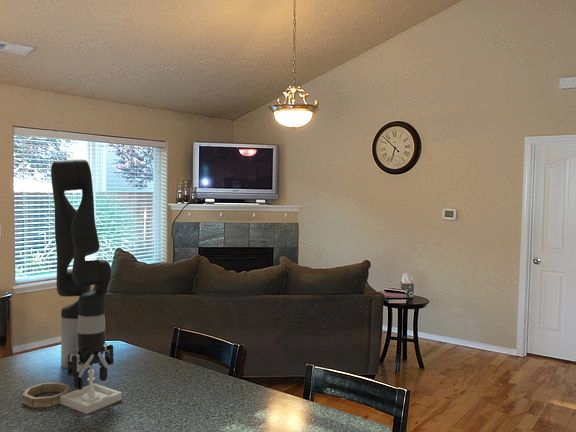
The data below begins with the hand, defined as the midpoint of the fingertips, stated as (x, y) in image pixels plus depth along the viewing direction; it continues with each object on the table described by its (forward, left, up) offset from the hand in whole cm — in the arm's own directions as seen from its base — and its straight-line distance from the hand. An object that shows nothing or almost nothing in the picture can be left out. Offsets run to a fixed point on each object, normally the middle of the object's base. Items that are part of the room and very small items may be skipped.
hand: (91, 384), depth 155 cm
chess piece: (0, 0, -4) cm, 4 cm away
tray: (0, 0, -5) cm, 5 cm away
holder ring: (+6, -12, -5) cm, 14 cm away
